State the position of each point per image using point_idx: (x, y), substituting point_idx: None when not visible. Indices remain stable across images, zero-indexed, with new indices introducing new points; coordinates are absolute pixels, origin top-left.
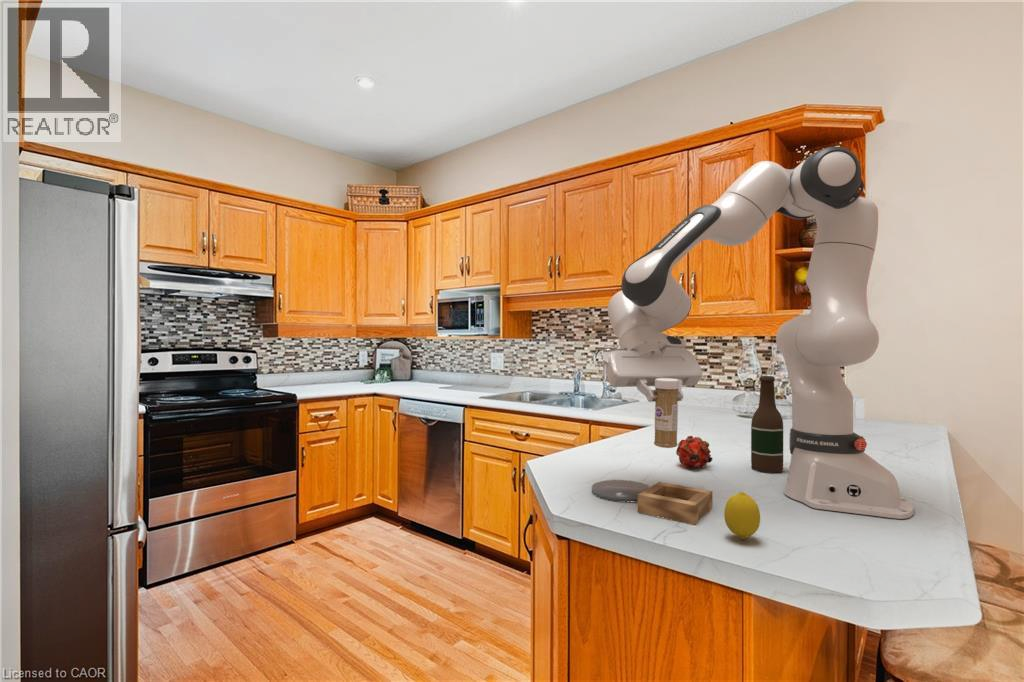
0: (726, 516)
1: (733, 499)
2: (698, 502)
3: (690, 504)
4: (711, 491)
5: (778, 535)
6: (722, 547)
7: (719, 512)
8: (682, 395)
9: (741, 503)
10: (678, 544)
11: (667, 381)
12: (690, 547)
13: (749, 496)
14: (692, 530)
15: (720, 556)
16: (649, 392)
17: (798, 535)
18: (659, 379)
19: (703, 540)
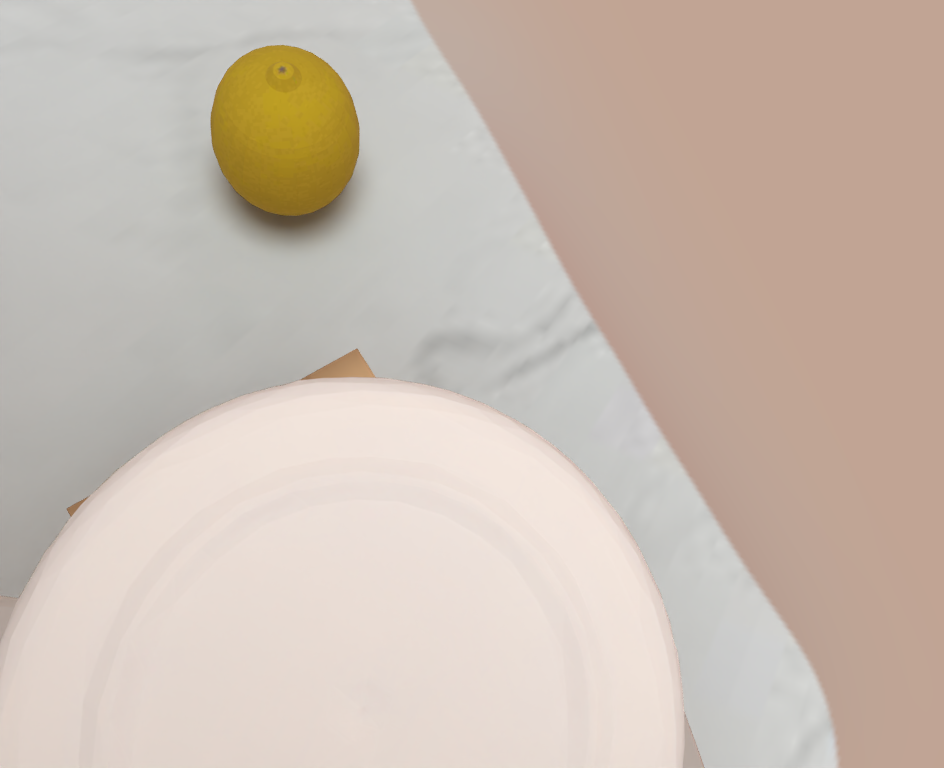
0: (355, 159)
1: (335, 97)
2: (306, 376)
3: (365, 368)
4: (79, 504)
5: (114, 155)
6: (415, 169)
7: (108, 460)
8: (2, 603)
9: (326, 66)
10: (543, 250)
11: (531, 433)
12: (520, 215)
13: (257, 61)
14: (404, 331)
15: (474, 125)
16: (692, 752)
17: (34, 121)
18: (653, 652)
19: (434, 240)
